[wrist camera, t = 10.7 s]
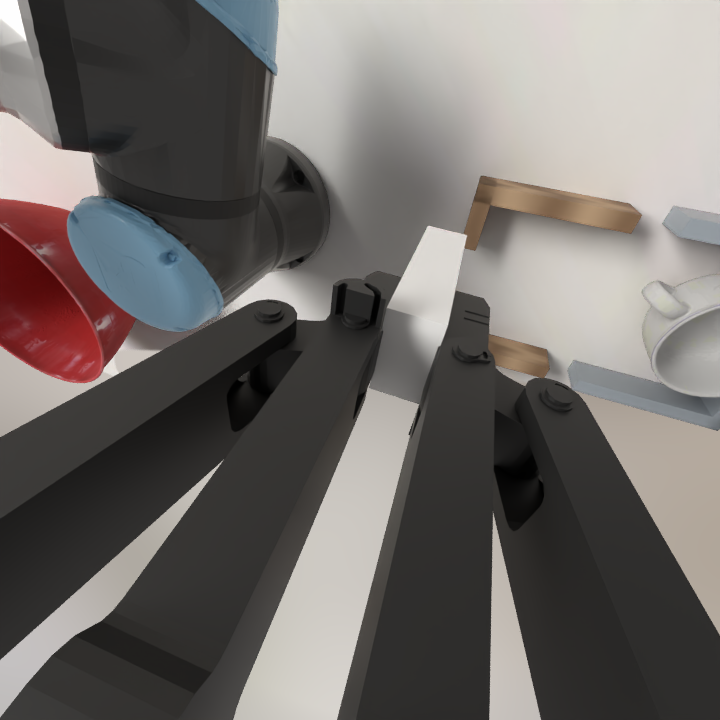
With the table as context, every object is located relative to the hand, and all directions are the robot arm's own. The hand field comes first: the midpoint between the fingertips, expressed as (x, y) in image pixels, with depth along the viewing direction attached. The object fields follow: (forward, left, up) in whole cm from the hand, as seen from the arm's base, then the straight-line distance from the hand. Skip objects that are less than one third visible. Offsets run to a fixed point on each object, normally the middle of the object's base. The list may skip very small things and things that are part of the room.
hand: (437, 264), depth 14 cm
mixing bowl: (-56, -25, -28) cm, 67 cm away
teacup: (+25, -9, -28) cm, 39 cm away
